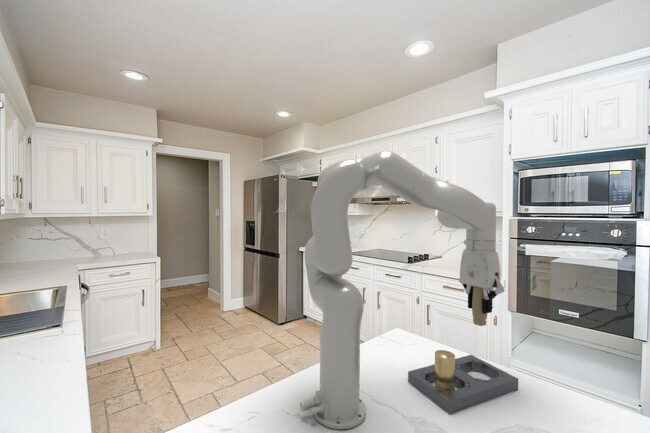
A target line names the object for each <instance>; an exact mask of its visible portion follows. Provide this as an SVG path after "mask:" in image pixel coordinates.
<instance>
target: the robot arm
mask: <svg viewBox="0 0 650 433" xmlns="http://www.w3.org/2000/svg"><path fill="white" fill-rule="evenodd" d="M317 185H318V186H317V187H316V190H315V192H314V194H313V197H312V200H311V206H310V215H311V216H310V217H311V227H312V228H311V230H312V236H311V237H310V238H309V239H308V241H307V243H306V245H305V247H304V262H305V270H306V276H307V277H306V278H307V282H308V283H307V284H308V289H309V294H310V298H311V301H312V302H313V303H314V304H315V305H316V307H318V309H319V310H320V311H321V312H322V322H321V327H320V331H319V333H320V334H319V390H317V391H315V396H313V397H312V399H308V400H304V401H300V402H299V403H300V404H299V406H300V410H301V412H305V411H309V415H310V416H314V418H315V419H316V420H317V422H319V423H320V424H321V425H323V426H324V427H327V428H330V429H333V430H349V429H353V428H355V427H357V426H359V425H361V423H363V421H364V420H365V418H366V415H367V413H366V412H367V408H366V404H365V402H364V401H363V400H362V399H361V398H360V386H361V385H360V383H361V382H360V379H361V377H360V375H361V374H360V373H361V371H360V370H361V366H360V364H361V361H360V360H361V359H360V358H361V356H360V355H361V345H360V344H361V329H362V328H361V327H362V320H363V313H364V310H365V308H364V304H365V303H364V299H363V296H362V293H361V291H360V290H359V289H358V287H356V285H355V284H353V283H352V282H350V281H348V280H346V278H345V279H344V278H343V277H342V276H344V275H346V273H348V272H349V270H350V269H351V268H352V264H353V251H352V250H353V249H352V242H351V236H350V230H349V216H348V213H349V207H350V205H351V202H352V199H353V198H354V197H355V196H356V195H357V194H358V193H359V192H361V191H364V190H367V189H370V188H375V187H379V186H381V187H383V188H385V189H387V190H388V191H389V192H391V193H393V194H395V195H397V196H398V197H399V198H401V199H402V200H404V201H406V202H408V203H409V204H411V205H413V206H417V207H420V208H424V209H429V210H435V211H437V219H438V222H439V223H440V224H442V226H444V227H445V228H450V229H459V230H460V229H461V230H462V229H463V230H465V240H464V241H463V244H464V246H465V249H463V251H462V254H461V260H460V267H459V278H458V282H459V283H460V284H461V285H462V286H463V287H462V288H464V290H465V293H466V294H467V309H471V310H472V298H473V286H475V287H479V288H483V293H484V298H485V299H482V313H484V314H486V313H487V314H492V312H493V299H495V297H497V296H498V295H500V294H503V293H504V292H505V288H504V286H503V284H502V283H501V266H500V265H501V262H500V259H499V258H500V257H499V254H498V251H496V250H497V245H496V244H497V238H496V237H497V235H496V234H497V207H496V204H495V203H493V202H489V201H488V202H486V201H484V200H483V198H481V197H479V196H477V195H476V194H474V193H473V192H471V191H470V190H468V189H466V188H463V187H461V186H459V185H456V184H454V183H450V182H447V181H445V180H442V179H440V178H436V177H433V176H431V175H429V174H428V173H426V172H424V171H423V170H421V169H420V168H418V167H417V166H415V165H413V163H411V162H410V161H408V160H406V159H405V158H403V157H402V156H400V155H399V154H397V153H395V152H393V151H390V150H381V151H378V152H376V153H372V154H370V155H368V156H365V157H362V158H359V159H351V158H348V159H343V160H340V161H338V162H335V163H333V164H331V165H328V166H326V167H325V168H324V169H322V170H321V172H320V173H319V174H318V178H317ZM469 272H472V273H474V277H470V276H469ZM494 288H495V289H494Z"/></svg>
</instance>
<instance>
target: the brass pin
mask: <svg viewBox="0 0 650 433" xmlns="http://www.w3.org/2000/svg"><path fill="white" fill-rule="evenodd" d="M455 359H456V355H455V353H453V352H452V351H448V350H446V349H445V350H444V349H440V350H436V351H435V352H434V364H435V382H434V386H435V387H436V388H438V389H439V390H444V391H449V392H451V391H455V390H456V389H455V388H456V387H455Z"/></svg>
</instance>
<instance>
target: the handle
mask: <svg viewBox="0 0 650 433" xmlns="http://www.w3.org/2000/svg"><path fill="white" fill-rule="evenodd" d="M469 276H470V277H474V273H472V272H469ZM482 299H485V298H484V293H483V288H479V287H475V286H473V298H472V308H471V312H472V321H473V324H474V325H476V326H479V327H483V326H486V325H487V321H486V320H487V318H488V313H486V314H484V313H482Z"/></svg>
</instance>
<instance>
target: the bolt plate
mask: <svg viewBox="0 0 650 433" xmlns="http://www.w3.org/2000/svg"><path fill="white" fill-rule="evenodd" d="M469 371H470V372H475V373H480V372H481V374H483V375H485V376H487V377H488V379H482V378H477V377H474V376H473V375H471V374H469V373H470V372H469ZM468 372H469V373H468ZM407 382H408V384H410V385H411V386H412V387H413V388H415V389H416V390H417V391H419V392H420V393H422V394H423V395H424V396H425V397H427V398H428V399H429V400H431V401H432V402H433V403H434V404H435V405H436V406H438V407H439V408H440V409H442V410H443V411H444V412H446V413H447V415H453V414H455V413H458V412H461V411H463V410H464V411H465V410H467V409H469V408H472V407H475V406H478V405H480V404H483V403H485V402H488V401H491V400H494V399H497V398H499V397H501V396H504V395H508V394H510V393H513V392H516V391H518V390H519V378H518V377H515V376H514V375H512V374H510V373H509V372H506V371H504V370H502V369H501V368H498V367H496V366H495V365H493V364H491V363H489V362H486V361H484V360H482V359H481V358H478V357H477V356H475V355H473V354H469V355H465V356H461V357H458V358H455V388H457V389H455V391H451V392H449V391H444V390H439V389H438V388H436V387H435V384H434V385H433V383H435V363H434V364H431V365H428V366H424V367H419V368H417V369H413V370H412V369H411V370H409V371H407Z"/></svg>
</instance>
